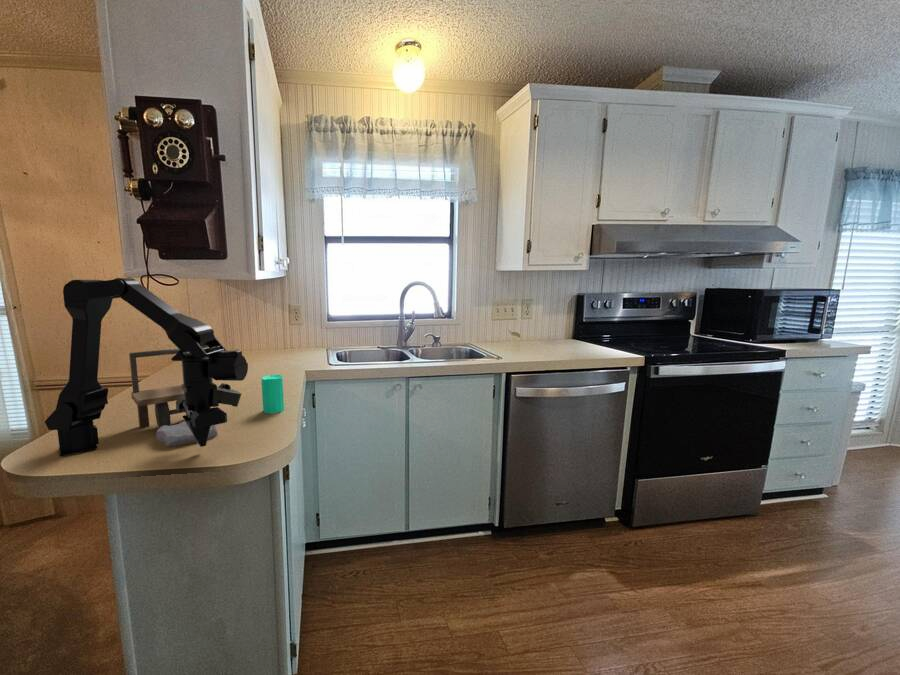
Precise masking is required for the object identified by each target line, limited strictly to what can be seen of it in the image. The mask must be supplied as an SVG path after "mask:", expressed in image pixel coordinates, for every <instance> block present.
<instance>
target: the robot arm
mask: <svg viewBox="0 0 900 675" xmlns="http://www.w3.org/2000/svg"><path fill="white" fill-rule="evenodd" d="M62 294H63V303H64V307H65V309H66V311H67V312H68V313H69V316H70V318H71V320H72V326H71V339H70V340H71V342H70V358H69V373H68V381H67V383H66V384H65V385H64V387H63V388H62V390H61V391H60V392H59V393H58V398H57V402H56V406H55V407H56V408H55V410H54V411H53V412H52V413H51V414H50V415H49V416H48V417H47V418H46V419H45V421H44V424H45V425H46V428H47V430H48V431H57V437H58V446H59V447H58V454H59V457H65V456H66V457H67V456H69V455H75V454H81V453H84V452H89V451H95V450H98V445H99V444H100V442H99V433H98V432H99V431H98V427H97V425H95V424H94V421H95V420H98V419H101V415H102V412H103V411H104V409H105V407H106V405H108V404H109V400H108V393H109V388H108V387H103V386H102V385H101V383H100V382H99V380H98V374H99V361H100V350H101V349H100V347H101V346H100V345H101V334H102V333H101V331H102V321H103V318H104V317H105V316H106V315H107V313H108V312H109V311H110V309H111V307H112V303H113V299H122V300H123V301H124V302H126V303H127V304H129V305H130V306H132V307H133V308H134V309H136V311H138V312H140V313H141V314H143V315H144V316H145V317H146V318H148V319H150V320H151V321H152V322H153V323H155V324H156V325H158V326H159V327H161V328H162V330H164V332H165V333H166V335H167V338H168V340H169V341H170V342H171V343H172V344H174V346H175V347H177V349H180V350H179V351H178V353H177V354H174V355H173V356H172V357H171V358H170V360H171V361H172V362H181V368H182V384H181V386H182V389H183V390H184V397H180V398H179V399H178V400H176V401H175V408H176V409H177V410H178V411H179V412H180V411H182V408H185V410H186V412H187V415H186V414H184V415H182V419H183V421H185V422H186V424H187V425H188V427H189V429H190V430H191V432H192V433H193V435H194V437H195V439H196V440H197V444H198V445H199V447H200V448H201V447H206V446H207V444H208V443H207V442H208V440H209V439H208V434H209V430H210V427H211V426H212V425H216V426H217V425H222V424H225V423H228V414H227V412H225V411H224V410H223V409H222V408H220V406H219V405H220V404H222V405H227V406H228V405H229V406H231V407H234V408H236V407H238V406H239V403H240V401H241V397H242V393H241V392H240V391H238V390H234V389H231V385H230V384H228V383H223V382H221V383H220V385H217V384H216V383H214V381H234V382H235V381H237V382H238V381H242V382H243V381H244V380H245V379H246V377H247V375H248V372H249V370H248V369H249V365H248V362H247V359H246V357H245V356H244V355H243V350H241V349H240V350H239V349H235V350H227V349H226V348H225V347H224V345H223V344H222V343H221V342H220V340H219V339H218V338H217V337H216V335H215V331H214V330H213V328H212V327H211V326H210V325H208V324H207V323H205V322H202V321H201V320H199V319H196V318H194V317H191V316H188V315H184V314H183V313H181V312H179V311H178V310H177V309H176V308H174V307H172V306H171V305H170V304H168V303H167V302H165V301H164V300H163V299H161V298H160V297H159V296H157V295H156V294H155V293H153V292H152V291H150V290H149V289H147V288H146V287H145V286H144V285H142V284H141V282H140V281H139V280H137V279H135V278H134V277H133V278H131V277H117V278H114V279H108V280H103V279H72V280H70V281H68V282H66V283H65V284H64V285H63V289H62ZM213 380H214V381H213ZM186 412H185V413H186Z"/></svg>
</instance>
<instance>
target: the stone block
mask: <svg viewBox="0 0 900 675" xmlns="http://www.w3.org/2000/svg"><path fill="white" fill-rule="evenodd" d="M218 434H219V433H218V428H217V425H212V426H211V427H210V430H209V434H208V439H207V440H209V439H213V438H214V437H217V436H218ZM155 438H156V441H158V442H159V443H160V444H164V445H165V446H166V447H175V446H180V445H185V444H191V443H196V442H197V440H196V439H195V437H194V435H193V433H192V432H191V430H190V429H189V427H188V425H187V424H186V422H185V420H183V421H181V422H180V423H178V424H172V425H170V426H167V425H164V426H161V427H160V428H158V429H157V431H156V433H155ZM197 443H198V442H197Z"/></svg>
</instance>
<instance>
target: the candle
mask: <svg viewBox="0 0 900 675" xmlns="http://www.w3.org/2000/svg"><path fill="white" fill-rule="evenodd" d="M283 379H284V377H283V375H282V374H268V375H264V376H262V377H261V392H262V394H261V395H262V410H263V411H262V412H263V413H265V414H277V413H281V412H283V411H284V410H285V403H284V401H285V400H284V399H285V398H284V382H283V381H284V380H283Z"/></svg>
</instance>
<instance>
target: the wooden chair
mask: <svg viewBox="0 0 900 675" xmlns="http://www.w3.org/2000/svg"><path fill="white" fill-rule="evenodd" d="M179 350H180V349H179V348H171V349H158V350H148V351H139V352H138V351H137V352H136V351H135V352H129V353H128V356H129V363H130V364H129V366H130V374H131V375H130V376H131V386H132V391H131V392H130V396H131V399H132V400H133V402H134V403H135V404H136V405H137V417H138V427H139V428H140V429H143V428H148V427H150V418H149V408H148V407H149V406H150V405H151V406H152V405H154V412H155V413H154V414H155V419H156V424H157V427H158V429H159V428H160V427H161V426H164V425H167V426H171V415H177V414H181V413H185V415H187V412H186V410H185V408H182V411H180V412H179V411H178V410H177V409H175V408H174V409H170V405H169V404H168V403H171V402H176V401H177V400H178V399H179V398H180V397H184V390H183V389H182V386H181V385H174V386H167V387H159V388H153V389H146V390H140V386H139V376H138V366H137V358H147V357H156V356H157V357H159V356H167V355H176V354H177V353H178V351H179Z"/></svg>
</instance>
